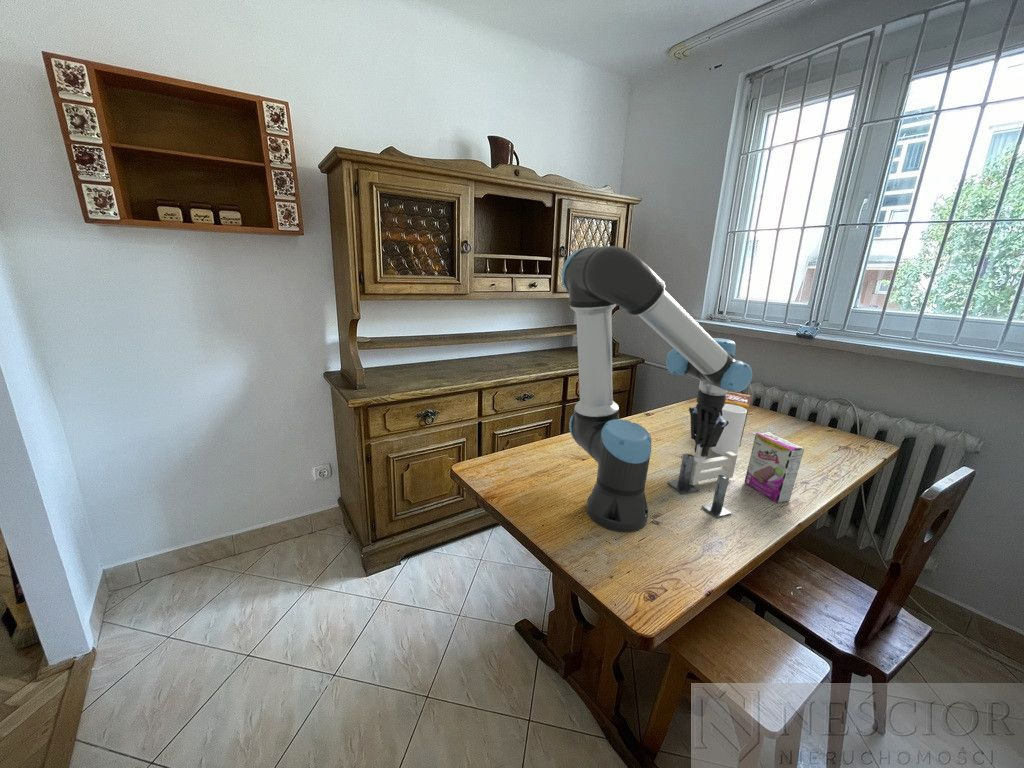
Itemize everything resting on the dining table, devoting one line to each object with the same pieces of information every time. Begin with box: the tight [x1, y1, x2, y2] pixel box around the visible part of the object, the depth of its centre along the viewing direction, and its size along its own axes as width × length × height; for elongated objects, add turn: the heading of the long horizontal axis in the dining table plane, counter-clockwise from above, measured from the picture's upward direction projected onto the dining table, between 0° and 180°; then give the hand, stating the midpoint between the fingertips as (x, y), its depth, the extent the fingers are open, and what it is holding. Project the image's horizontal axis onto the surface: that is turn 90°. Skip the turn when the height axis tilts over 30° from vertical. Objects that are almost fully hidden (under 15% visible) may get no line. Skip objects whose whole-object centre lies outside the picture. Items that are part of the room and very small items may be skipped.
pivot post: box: [667, 453, 700, 496], centre depth 114 cm, size 6×6×10 cm
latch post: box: [701, 475, 733, 519], centre depth 103 cm, size 5×5×10 cm
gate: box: [690, 451, 738, 486], centre depth 117 cm, size 16×2×8 cm, turn 110°
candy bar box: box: [744, 431, 805, 504], centre depth 112 cm, size 11×5×16 cm, turn 18°
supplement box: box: [714, 391, 752, 447], centre depth 150 cm, size 10×15×16 cm
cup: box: [710, 404, 747, 456], centre depth 137 cm, size 8×8×16 cm
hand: (698, 464), depth 124 cm, fingers closed
